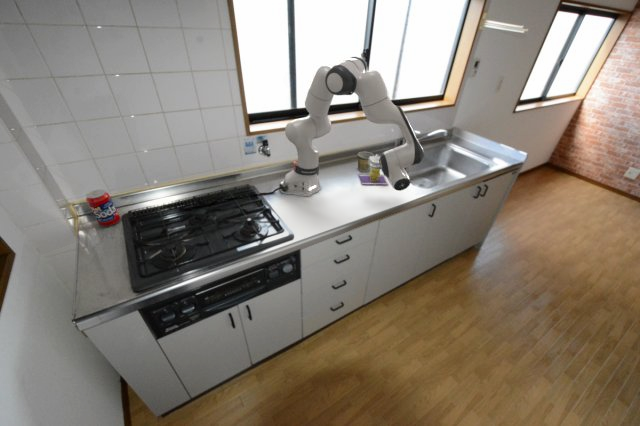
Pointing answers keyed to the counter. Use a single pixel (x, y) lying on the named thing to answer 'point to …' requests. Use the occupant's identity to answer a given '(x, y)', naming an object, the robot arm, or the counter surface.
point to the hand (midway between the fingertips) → (385, 155)
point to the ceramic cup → (364, 161)
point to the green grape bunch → (374, 174)
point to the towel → (366, 181)
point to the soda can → (102, 207)
